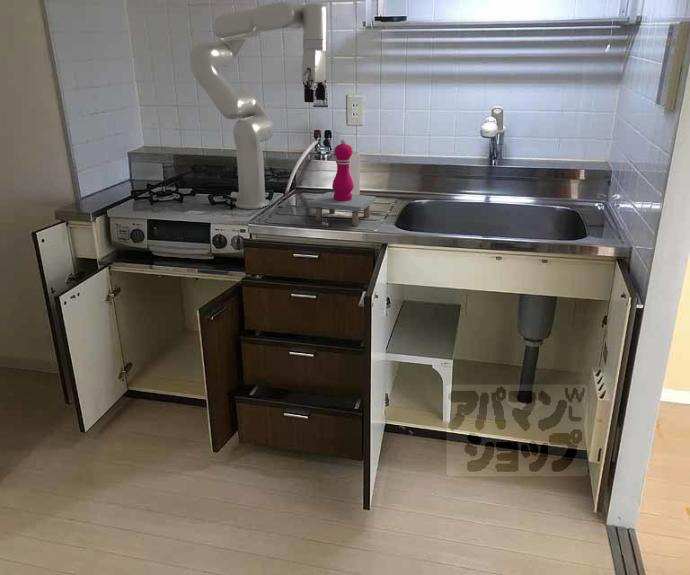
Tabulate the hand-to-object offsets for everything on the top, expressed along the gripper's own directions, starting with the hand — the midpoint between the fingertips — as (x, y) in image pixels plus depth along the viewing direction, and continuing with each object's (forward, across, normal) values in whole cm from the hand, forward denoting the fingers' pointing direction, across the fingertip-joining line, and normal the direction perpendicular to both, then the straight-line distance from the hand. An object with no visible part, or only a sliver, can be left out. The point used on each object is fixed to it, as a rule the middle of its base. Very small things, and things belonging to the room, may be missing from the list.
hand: (315, 101), depth 201 cm
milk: (+38, -16, +7) cm, 42 cm away
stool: (+38, +4, +12) cm, 40 cm away
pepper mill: (+32, +4, +12) cm, 34 cm away
